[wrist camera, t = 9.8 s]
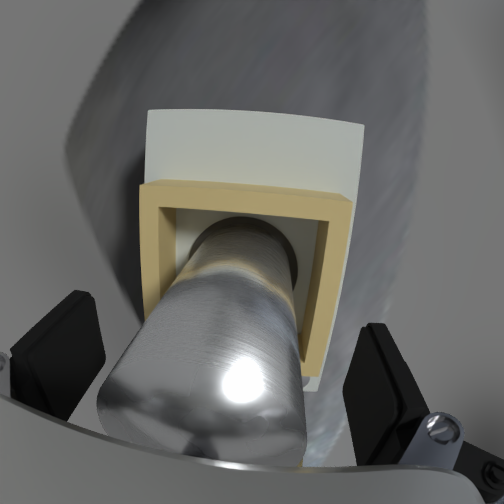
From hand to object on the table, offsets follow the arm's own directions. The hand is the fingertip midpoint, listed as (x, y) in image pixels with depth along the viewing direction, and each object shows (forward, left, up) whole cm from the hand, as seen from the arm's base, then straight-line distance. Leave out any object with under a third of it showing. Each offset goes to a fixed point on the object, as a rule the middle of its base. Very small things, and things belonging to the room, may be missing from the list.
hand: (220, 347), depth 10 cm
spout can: (+1, 0, -8) cm, 8 cm away
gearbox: (+1, 0, -15) cm, 15 cm away
